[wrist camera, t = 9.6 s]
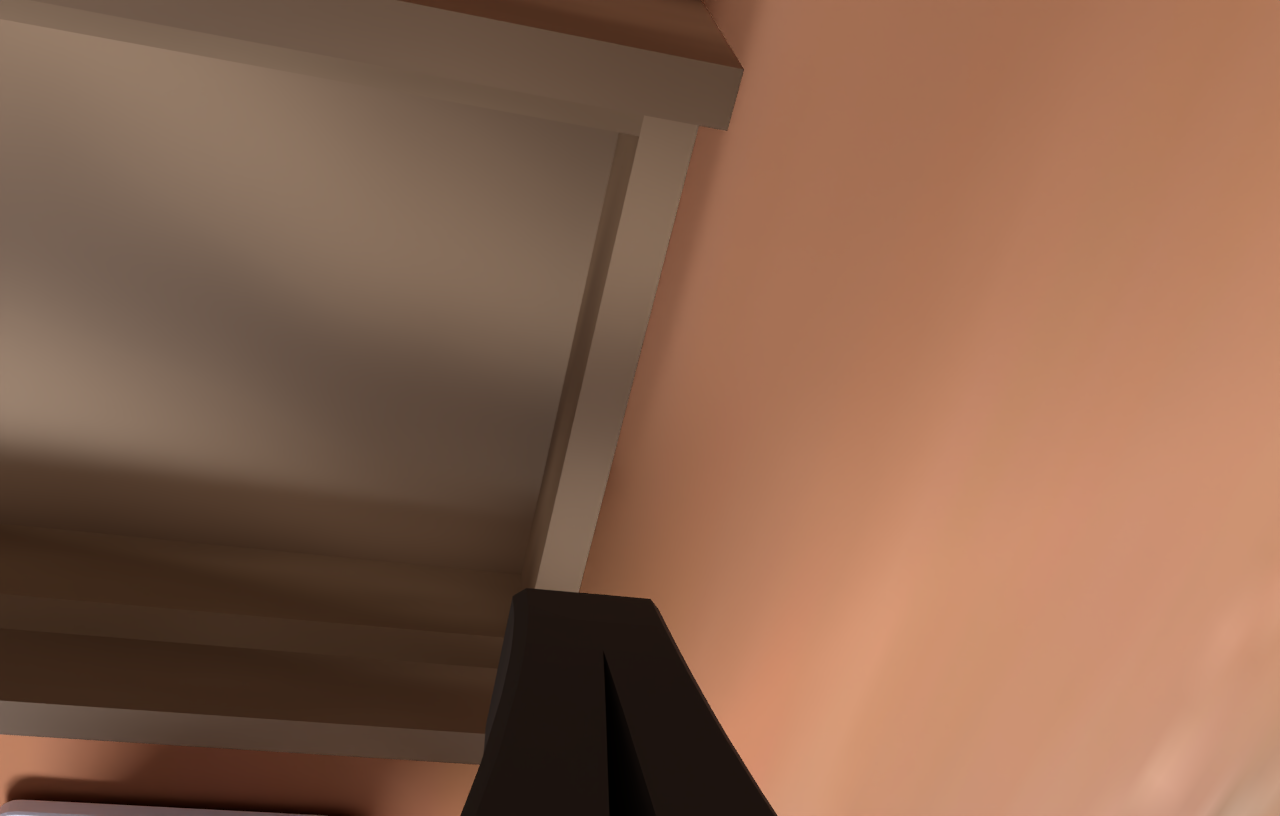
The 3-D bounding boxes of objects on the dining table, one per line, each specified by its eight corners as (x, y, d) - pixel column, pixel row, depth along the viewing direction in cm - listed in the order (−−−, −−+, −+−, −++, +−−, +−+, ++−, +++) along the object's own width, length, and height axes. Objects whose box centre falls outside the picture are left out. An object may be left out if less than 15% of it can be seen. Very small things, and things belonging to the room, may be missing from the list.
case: (545, 616, 24) (553, 768, 21) (-321, 537, 21) (-475, 703, 18) (696, -8, 18) (743, 69, 14) (-540, -270, 14) (-855, -250, 11)
